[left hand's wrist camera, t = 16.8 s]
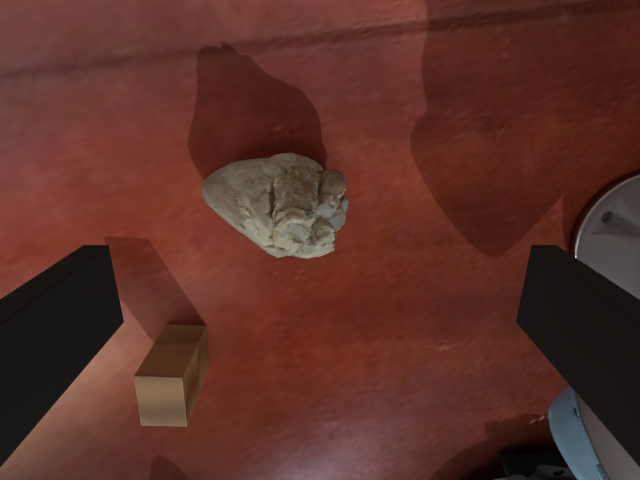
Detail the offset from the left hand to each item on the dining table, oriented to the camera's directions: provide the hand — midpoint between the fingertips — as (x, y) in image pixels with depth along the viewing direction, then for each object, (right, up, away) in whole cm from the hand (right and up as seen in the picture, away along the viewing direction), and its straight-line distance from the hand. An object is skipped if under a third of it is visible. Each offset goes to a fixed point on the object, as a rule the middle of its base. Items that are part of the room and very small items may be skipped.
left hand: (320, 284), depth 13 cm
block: (-17, -12, +38) cm, 43 cm away
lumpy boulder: (-4, +6, +31) cm, 32 cm away
